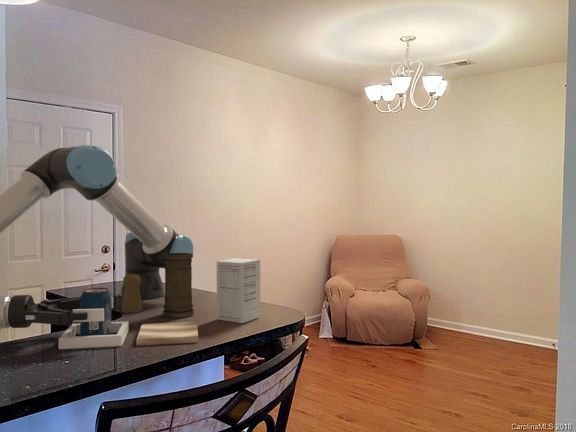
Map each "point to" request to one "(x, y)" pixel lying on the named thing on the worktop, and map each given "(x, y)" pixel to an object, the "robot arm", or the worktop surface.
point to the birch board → (167, 333)
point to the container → (178, 285)
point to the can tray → (93, 337)
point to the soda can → (96, 300)
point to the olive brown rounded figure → (132, 294)
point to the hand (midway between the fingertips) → (108, 308)
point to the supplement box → (238, 290)
